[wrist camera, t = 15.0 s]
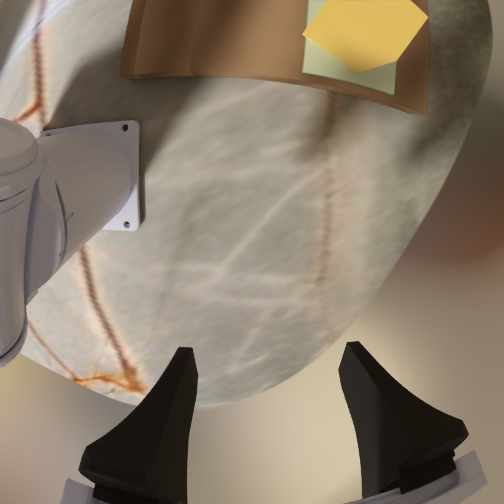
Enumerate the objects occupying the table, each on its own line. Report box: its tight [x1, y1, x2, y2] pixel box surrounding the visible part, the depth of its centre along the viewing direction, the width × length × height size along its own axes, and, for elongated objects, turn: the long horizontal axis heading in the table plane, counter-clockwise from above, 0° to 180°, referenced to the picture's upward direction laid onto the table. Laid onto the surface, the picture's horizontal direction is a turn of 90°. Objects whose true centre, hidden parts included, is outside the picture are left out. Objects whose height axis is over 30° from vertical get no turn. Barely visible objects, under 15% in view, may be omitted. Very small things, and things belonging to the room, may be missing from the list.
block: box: [302, 0, 428, 74], centre depth 10 cm, size 4×4×5 cm
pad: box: [302, 0, 396, 95], centre depth 12 cm, size 6×6×1 cm
